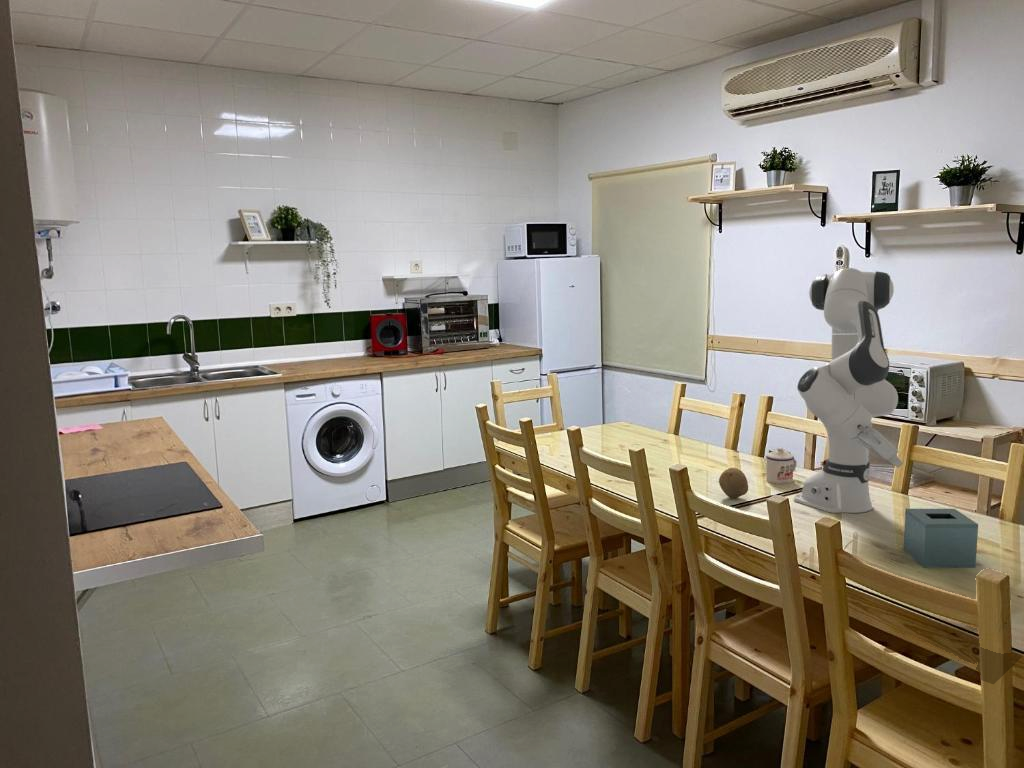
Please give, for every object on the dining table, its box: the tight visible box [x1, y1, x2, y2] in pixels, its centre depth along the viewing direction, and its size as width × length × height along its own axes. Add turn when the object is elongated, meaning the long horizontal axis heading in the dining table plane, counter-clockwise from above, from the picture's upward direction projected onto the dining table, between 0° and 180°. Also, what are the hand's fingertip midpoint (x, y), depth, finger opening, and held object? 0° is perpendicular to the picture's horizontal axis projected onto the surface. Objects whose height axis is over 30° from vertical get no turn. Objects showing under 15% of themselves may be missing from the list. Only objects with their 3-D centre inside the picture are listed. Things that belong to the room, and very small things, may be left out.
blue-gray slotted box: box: [903, 508, 979, 569], centre depth 190 cm, size 12×12×11 cm
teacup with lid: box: [765, 447, 798, 485], centre depth 262 cm, size 12×9×12 cm
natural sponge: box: [718, 467, 749, 500], centre depth 245 cm, size 9×9×10 cm
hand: (891, 460), depth 188 cm, fingers open, 8 cm apart
